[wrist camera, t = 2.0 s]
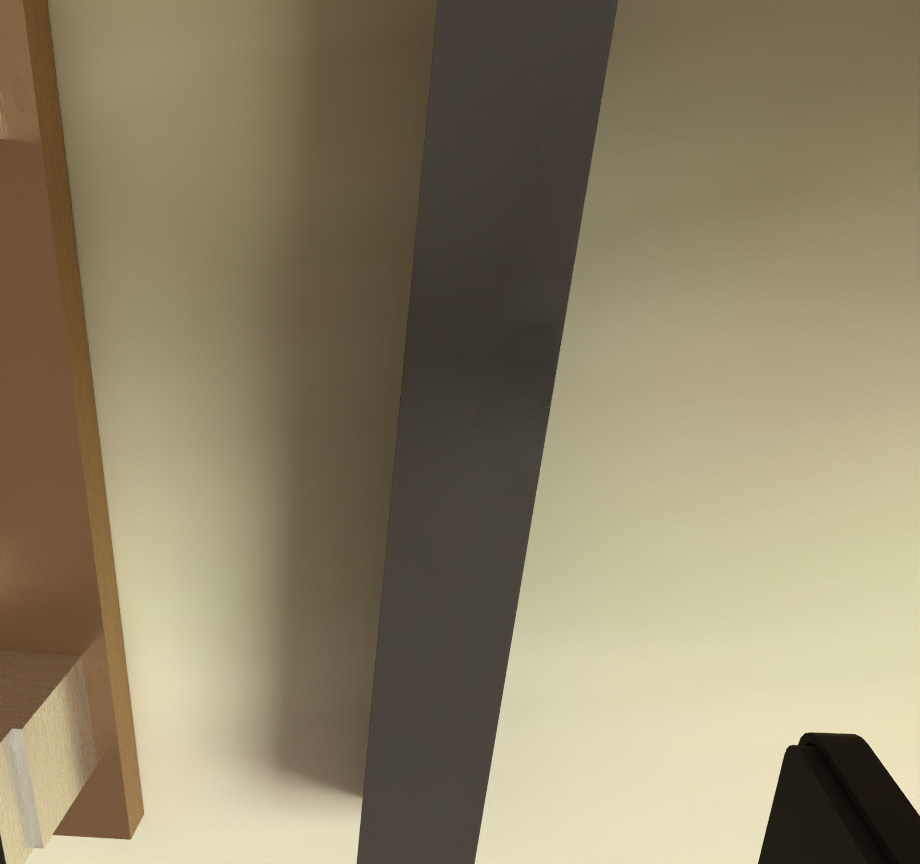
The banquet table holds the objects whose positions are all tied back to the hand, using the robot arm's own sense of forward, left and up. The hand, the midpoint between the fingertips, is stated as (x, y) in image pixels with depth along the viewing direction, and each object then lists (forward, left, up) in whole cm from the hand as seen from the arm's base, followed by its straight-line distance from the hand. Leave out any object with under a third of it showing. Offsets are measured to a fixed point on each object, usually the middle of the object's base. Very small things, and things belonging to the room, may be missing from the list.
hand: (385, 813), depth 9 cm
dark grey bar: (-1, 0, -13) cm, 13 cm away
